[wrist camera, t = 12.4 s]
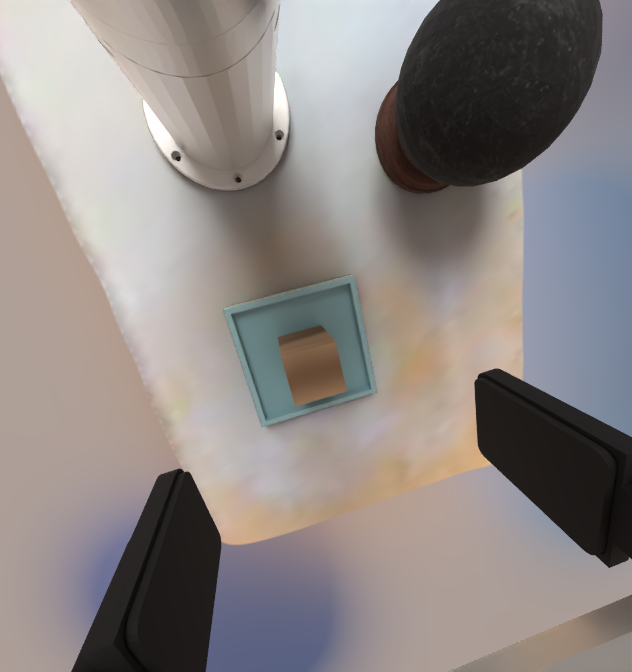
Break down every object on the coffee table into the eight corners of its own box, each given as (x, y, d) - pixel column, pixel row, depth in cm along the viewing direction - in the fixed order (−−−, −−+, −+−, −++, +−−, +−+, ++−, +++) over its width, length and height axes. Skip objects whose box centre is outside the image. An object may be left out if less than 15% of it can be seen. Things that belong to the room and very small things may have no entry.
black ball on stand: (349, 81, 28) (436, -102, 14) (471, 41, 29) (670, -170, 15) (385, 220, 32) (482, 188, 18) (492, 180, 33) (666, 120, 19)
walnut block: (277, 337, 32) (280, 357, 26) (321, 325, 33) (335, 341, 26) (289, 377, 34) (295, 406, 27) (330, 365, 34) (346, 391, 27)
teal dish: (225, 307, 31) (223, 310, 30) (349, 274, 33) (354, 275, 31) (262, 418, 35) (262, 427, 33) (371, 385, 37) (377, 392, 35)
